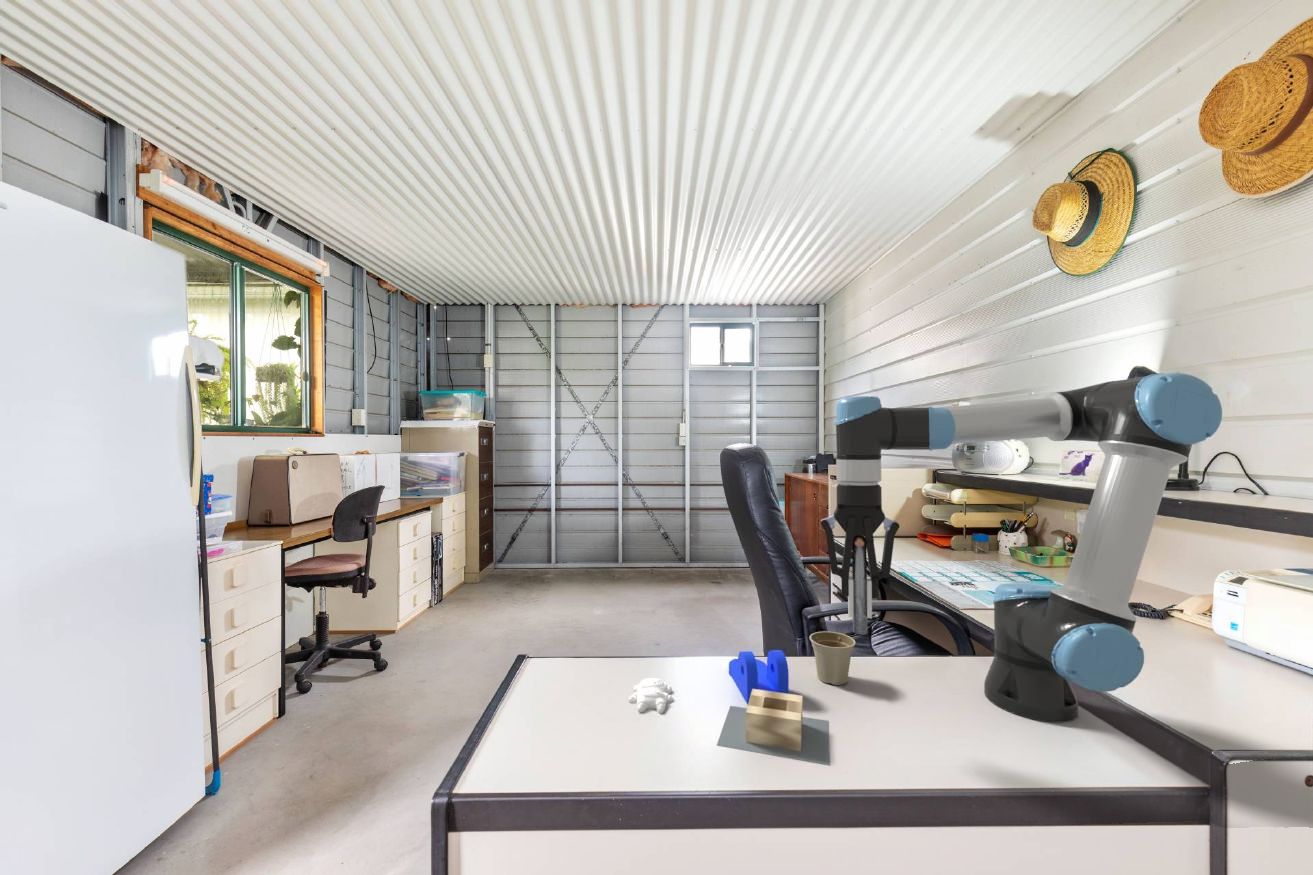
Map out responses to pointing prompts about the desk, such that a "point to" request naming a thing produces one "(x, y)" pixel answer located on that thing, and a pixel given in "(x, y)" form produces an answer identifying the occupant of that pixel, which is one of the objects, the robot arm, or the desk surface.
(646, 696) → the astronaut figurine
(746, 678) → the bracket
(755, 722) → the block with square hole
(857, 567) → the copper-tipped rod
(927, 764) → the desk surface
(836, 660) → the flower pot
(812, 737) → the mat
